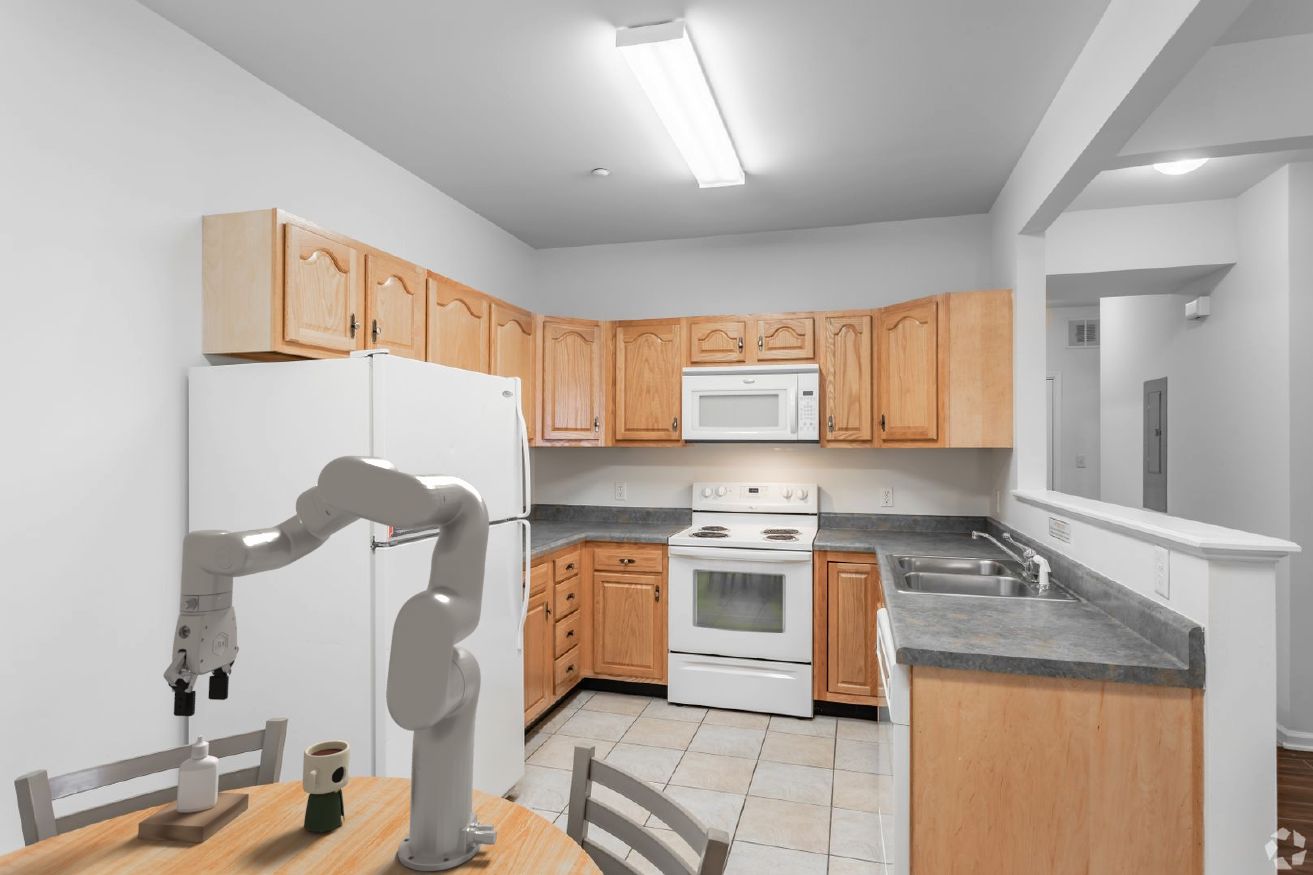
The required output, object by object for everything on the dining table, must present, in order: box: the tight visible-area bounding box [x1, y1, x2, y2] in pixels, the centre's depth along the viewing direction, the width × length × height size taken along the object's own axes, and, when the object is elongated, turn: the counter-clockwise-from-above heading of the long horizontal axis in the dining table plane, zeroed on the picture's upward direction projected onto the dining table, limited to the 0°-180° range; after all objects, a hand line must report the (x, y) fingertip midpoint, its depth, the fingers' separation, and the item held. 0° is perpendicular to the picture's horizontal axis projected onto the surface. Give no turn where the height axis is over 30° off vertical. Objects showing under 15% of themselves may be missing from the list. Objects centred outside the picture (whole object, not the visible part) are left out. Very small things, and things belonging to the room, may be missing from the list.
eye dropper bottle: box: [176, 734, 220, 813], centre depth 115 cm, size 4×6×12 cm
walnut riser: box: [137, 791, 250, 843], centre depth 114 cm, size 11×11×2 cm
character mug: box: [302, 739, 351, 833], centre depth 114 cm, size 11×7×13 cm, turn 0°
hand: (201, 706), depth 115 cm, fingers open, 7 cm apart
